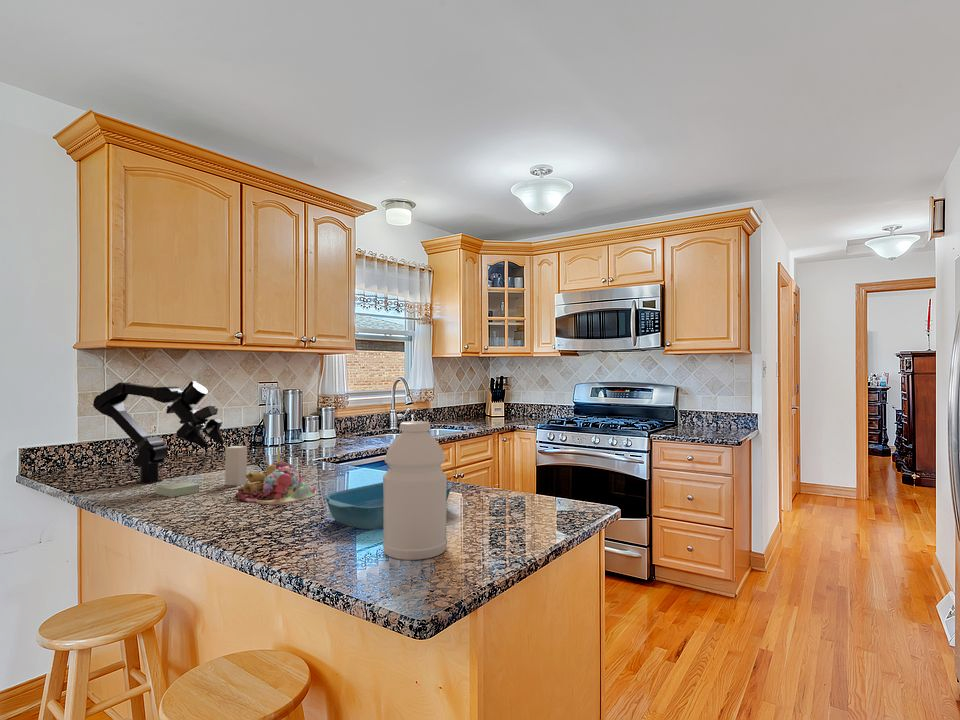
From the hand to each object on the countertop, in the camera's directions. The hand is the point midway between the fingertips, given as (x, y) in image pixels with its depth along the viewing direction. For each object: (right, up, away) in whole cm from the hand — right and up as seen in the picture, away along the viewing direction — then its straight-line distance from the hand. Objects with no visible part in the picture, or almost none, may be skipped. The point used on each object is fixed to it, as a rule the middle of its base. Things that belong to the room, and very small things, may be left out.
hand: (215, 445), depth 192 cm
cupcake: (+22, -14, +2) cm, 26 cm away
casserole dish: (+69, -13, -44) cm, 83 cm away
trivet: (-4, -13, -16) cm, 21 cm away
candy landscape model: (+29, -13, -19) cm, 37 cm away
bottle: (+80, -12, -74) cm, 109 cm away
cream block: (+8, -13, -1) cm, 16 cm away
